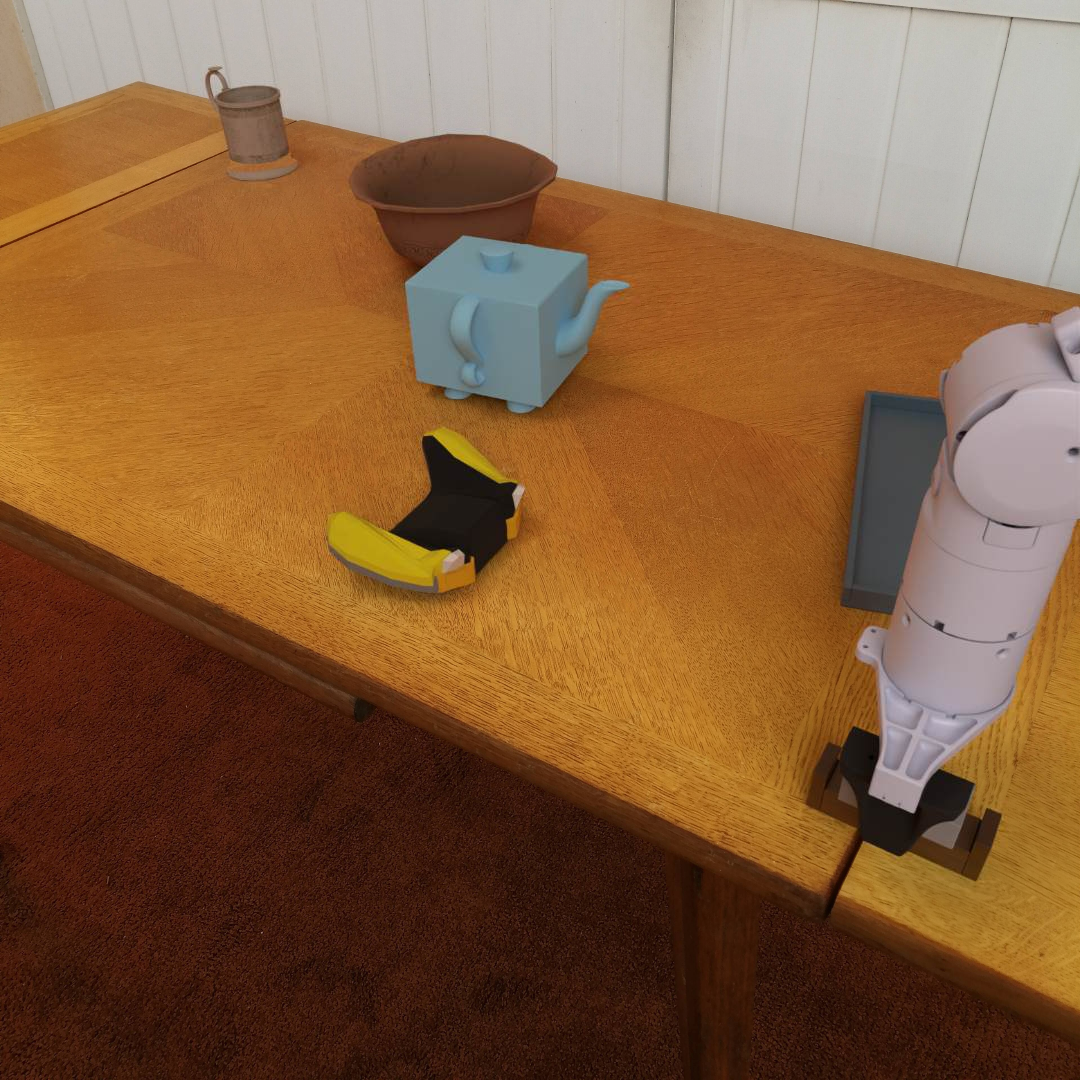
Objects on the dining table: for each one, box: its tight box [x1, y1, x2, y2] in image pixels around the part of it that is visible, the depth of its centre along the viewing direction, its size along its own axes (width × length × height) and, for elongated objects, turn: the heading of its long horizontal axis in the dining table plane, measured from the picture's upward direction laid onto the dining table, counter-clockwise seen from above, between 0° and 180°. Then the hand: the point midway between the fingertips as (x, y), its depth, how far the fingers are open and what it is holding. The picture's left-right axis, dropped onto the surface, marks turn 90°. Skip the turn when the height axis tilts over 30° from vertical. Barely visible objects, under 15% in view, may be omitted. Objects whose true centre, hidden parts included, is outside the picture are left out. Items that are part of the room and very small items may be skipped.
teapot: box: [404, 236, 631, 414], centre depth 87 cm, size 18×16×13 cm
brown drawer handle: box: [805, 741, 1003, 882], centre depth 53 cm, size 9×2×3 cm, turn 58°
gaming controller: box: [326, 426, 526, 595], centre depth 72 cm, size 15×6×10 cm
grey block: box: [838, 777, 977, 849], centre depth 52 cm, size 6×3×2 cm, turn 58°
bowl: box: [347, 133, 559, 270], centre depth 108 cm, size 22×22×11 cm
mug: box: [204, 66, 300, 182], centre depth 136 cm, size 14×10×12 cm
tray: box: [840, 389, 948, 615], centre depth 75 cm, size 10×26×2 cm, turn 163°
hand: (905, 788), depth 52 cm, fingers open, 7 cm apart
